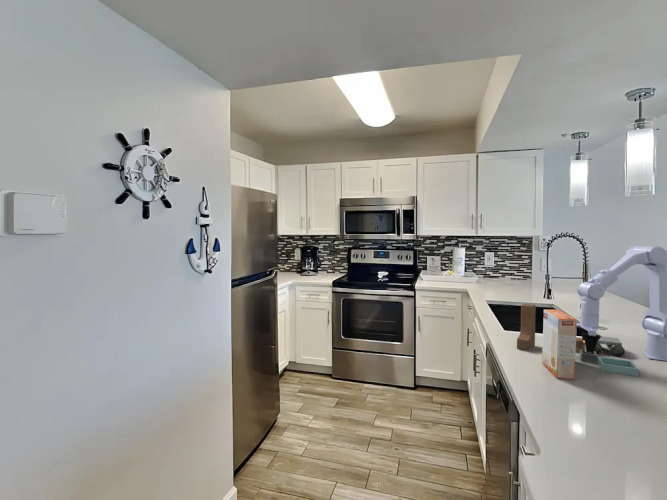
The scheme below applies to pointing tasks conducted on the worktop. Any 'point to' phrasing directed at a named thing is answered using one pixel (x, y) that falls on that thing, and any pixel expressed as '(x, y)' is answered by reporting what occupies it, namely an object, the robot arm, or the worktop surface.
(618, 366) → the tray
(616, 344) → the trolley
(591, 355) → the bracket
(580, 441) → the worktop surface
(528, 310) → the wooden block
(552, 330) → the cracker box
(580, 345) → the block
